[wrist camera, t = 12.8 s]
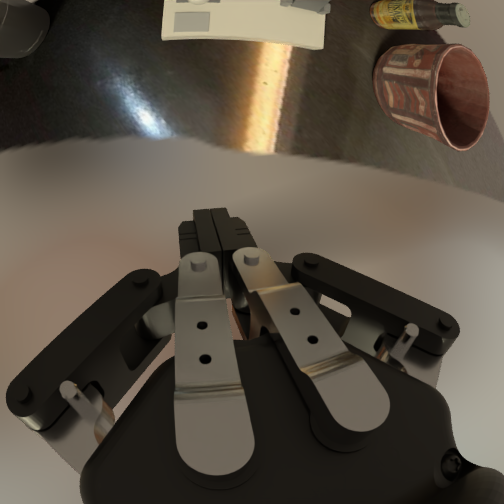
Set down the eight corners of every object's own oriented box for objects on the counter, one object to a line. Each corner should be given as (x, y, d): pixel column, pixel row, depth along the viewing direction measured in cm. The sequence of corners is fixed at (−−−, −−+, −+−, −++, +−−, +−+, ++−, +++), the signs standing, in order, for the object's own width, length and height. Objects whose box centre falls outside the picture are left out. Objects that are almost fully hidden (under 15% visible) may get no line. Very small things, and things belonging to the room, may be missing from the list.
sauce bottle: (366, -2, 31) (448, -15, 15) (391, 7, 32) (472, 2, 16) (368, 27, 35) (452, 23, 19) (393, 34, 36) (475, 38, 20)
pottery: (434, 87, 44) (499, 104, 29) (396, 141, 50) (462, 171, 35) (389, 26, 35) (461, 24, 20) (343, 82, 41) (416, 92, 26)
